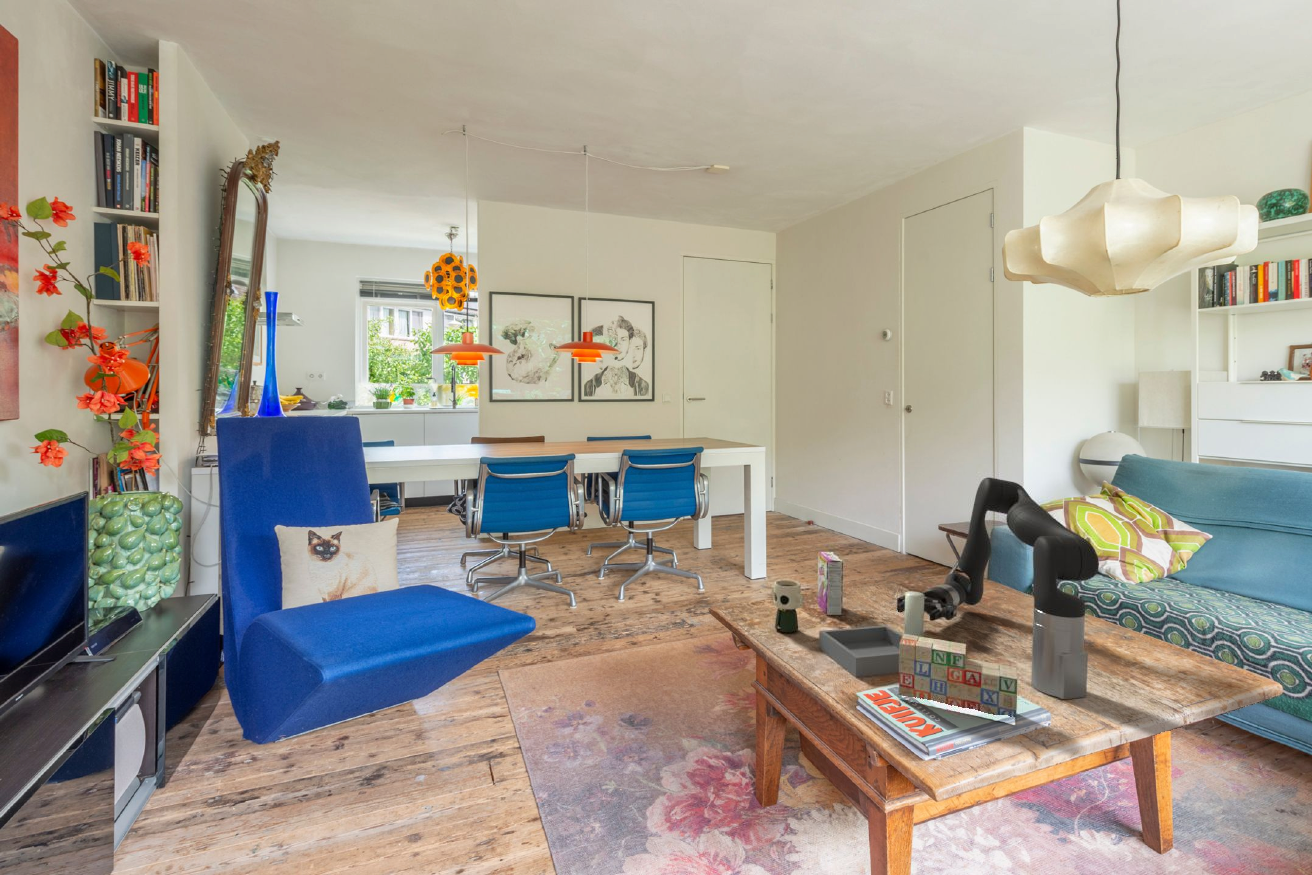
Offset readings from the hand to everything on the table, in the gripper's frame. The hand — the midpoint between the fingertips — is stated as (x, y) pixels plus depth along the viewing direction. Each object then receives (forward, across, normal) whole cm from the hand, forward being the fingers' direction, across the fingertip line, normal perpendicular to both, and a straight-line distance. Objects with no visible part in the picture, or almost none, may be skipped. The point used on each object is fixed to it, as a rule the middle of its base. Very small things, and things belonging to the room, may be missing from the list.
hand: (914, 612), depth 161 cm
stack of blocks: (+30, +22, +8) cm, 38 cm away
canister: (0, 0, +7) cm, 7 cm away
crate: (+20, -1, +7) cm, 22 cm away
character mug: (+20, -26, +7) cm, 34 cm away
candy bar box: (-4, -28, +7) cm, 29 cm away
